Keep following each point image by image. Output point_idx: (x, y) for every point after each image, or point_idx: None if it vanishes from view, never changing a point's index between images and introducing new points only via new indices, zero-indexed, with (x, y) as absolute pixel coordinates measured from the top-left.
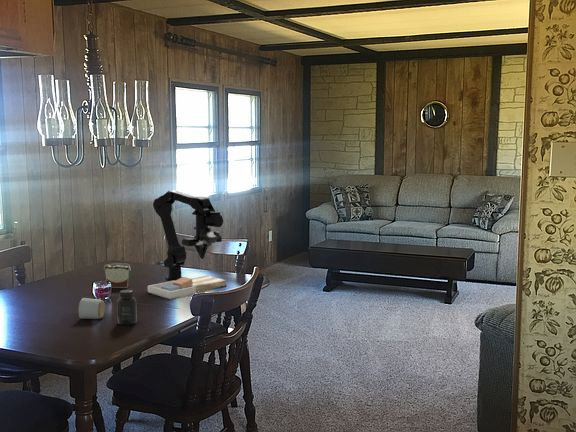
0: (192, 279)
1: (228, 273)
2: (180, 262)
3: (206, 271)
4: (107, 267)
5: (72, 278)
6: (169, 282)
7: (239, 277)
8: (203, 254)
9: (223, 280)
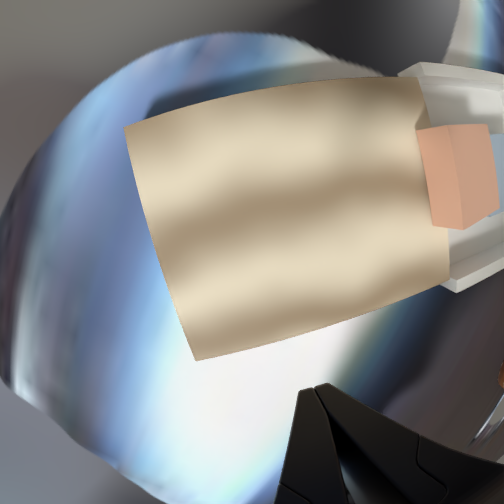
0: (346, 291)
1: (45, 405)
2: (346, 490)
3: (136, 476)
4: None
5: (490, 455)
6: (478, 268)
7: (6, 304)
8: (330, 431)
9: (144, 129)
